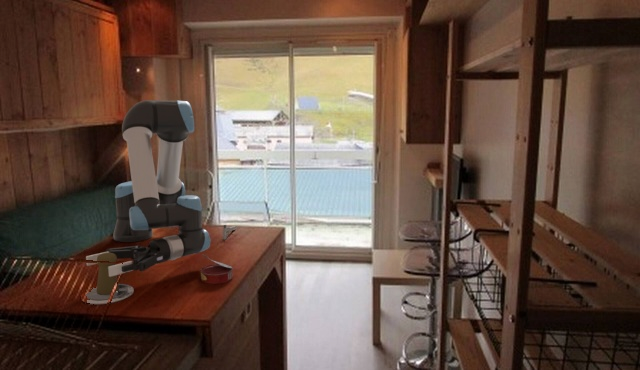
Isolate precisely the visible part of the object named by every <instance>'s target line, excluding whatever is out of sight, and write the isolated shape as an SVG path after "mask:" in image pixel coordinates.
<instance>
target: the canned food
mask: <svg viewBox="0 0 640 370" xmlns="http://www.w3.org/2000/svg"><path fill="white" fill-rule="evenodd" d="M201 253H202V252H201ZM201 255H203V256H204V258H206V259H208V260H210V261H212V262H213V263H215V264H210V265H207V266H203V267H202V268H201V269H200V279H201V282H203V283H206V284H223V283H227V282H229V281H231V280H232V279H233V276H234V275H233V266H231V265H229V264H225V263H223V262H219V261H215V260H213V259H210V258H209V257H208V256H207V255H205V254H204V253H202V254H201Z"/></svg>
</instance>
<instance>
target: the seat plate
mask: <svg viewBox="0 0 640 370" xmlns="http://www.w3.org/2000/svg"><path fill="white" fill-rule="evenodd" d="M118 285H119V291H117V292H115V293H114V295H113V298H112V301H111V303H110V304H114V303H117V302H121V301H124V300H126V299H128V298H129V297H132V295H133V294H134V292H135V291H134V287H133V286H131V285H129V284H125V283H118ZM95 287H96V288H94V287H92V288H93V289H92V288H91V289H92V290H91V292H88V293H87V294H86V296H87V298H88V299H90V300H87V303H90V304H89V305H93V304H94V305H96V306H97V305H106V304H107V302H108V299H109V297H110V294H104V295H103V294H98V293H97V292H96V290H97V286H95ZM107 305H108V304H107Z"/></svg>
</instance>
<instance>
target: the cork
mask: <svg viewBox="0 0 640 370" xmlns="http://www.w3.org/2000/svg"><path fill="white" fill-rule="evenodd" d="M101 253H102V254H100V255H99V256H98V257H97V261H109V262H116V263H117V261H118V259H117V257H116V255H115V254H114V253H103V252H101ZM97 263H98V264H97V265H98V274H97V283H96V287H97V290H96V292H97V293H98V294H103V295H104V294H111V292H112V289H113V287H114V285H115V283H116V282H117V280H118V275H115V276H111V277H110V276H109V271H108V267H109V266H113V265H116V263H100V262H97ZM118 284H119V283H118ZM118 284H117V288H116V291H115V292H117V291H119V285H118Z"/></svg>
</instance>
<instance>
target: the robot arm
mask: <svg viewBox="0 0 640 370" xmlns="http://www.w3.org/2000/svg"><path fill="white" fill-rule="evenodd" d="M194 118H195V117H194V114H193V109H192V106H191V104H190V102H189V101H186V100H178V99H177V100H150V99H146V100H141V101H139V102H136V103H135V104H134V105H132V107H131V108H130V109H128V111H127V112H126V114H125V116H124V119H123V121H122V125H121V133H122V138H123V140H124V141H126V146H127V154H128V162H129V170H130V177H131V180H130V181H126V182H122V183H119V184H118V185H116V187H115V193H114V198H115V207H116V223H115V227H114V231H113V233H112V234H113V241H115V242H120V243H134V242H141V241H145V240H149V239H151V238H152V237H153V236H154V233H153V229H163V228H174V227H178V234H172V235H168V236H164V237H160V238H156V239H152V240H150V241H149V243H148V245H147V246H142V245H140V244H137V245H132V246H124V247H111V248H107V249H106V251H104V252H100V253H95V254H91V255H86V256H85V261H86V260H93V261H97V257H98V256H99V255H100V254H102V253H114V254H115V255H116V257H117V260H118V259H119V260H121V259H131V260H129V261H126V262H122V263H123V264H122V263H117V264H115V265H113V266H109V267H108V271H109V276H110V277H111V276H115V275H117V276H118V275H122V274H125V273H130V272H132V271H135V272H137V271H139V273H141V272H145V271H146V270H148V269H149V268H152V267H154V266H155V265H158V264H159V265H160V264H162V263H165V262H167V261H176V259H179V258H180V259H181V258H183V257H187V256H191V255H195V254H200V253H202V252H204V251H206V250H208V249H210V246H211V237H210V233H209V232H208V231H207V230H206V229H205V228H203V216H202V215H203V214H202V212H203V209H202V208H203V207H202V202H201V197H199V196H198V195H195V194H194V195H193V194H192V195H188V194H187V195H186V187H185V184H184V182H183V181H181V179H180V169H181V162H182V155H183V146H184V145H183V144H184V142H185V141H186V140H187V139H188V138H189V134H192V133H194V132H195V119H194ZM153 134H156V136H157V137H158V139H159V141H158V155H157V165H156V166H157V167H156V168H155V163H154V157H153V151H152V150H153V149H152V142H151V139H152V137H153ZM96 264H97V265H98V263H86V266H87V267H89V266H92V265H93V266H94V265H96Z"/></svg>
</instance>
